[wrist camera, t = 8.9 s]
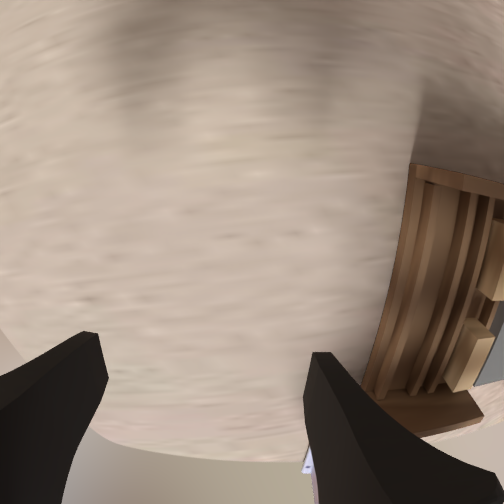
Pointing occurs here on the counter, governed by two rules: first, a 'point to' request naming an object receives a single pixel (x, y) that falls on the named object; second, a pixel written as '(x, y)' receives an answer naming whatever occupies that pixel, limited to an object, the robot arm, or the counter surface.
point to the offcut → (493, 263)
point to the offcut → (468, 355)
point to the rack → (433, 299)
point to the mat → (494, 352)
